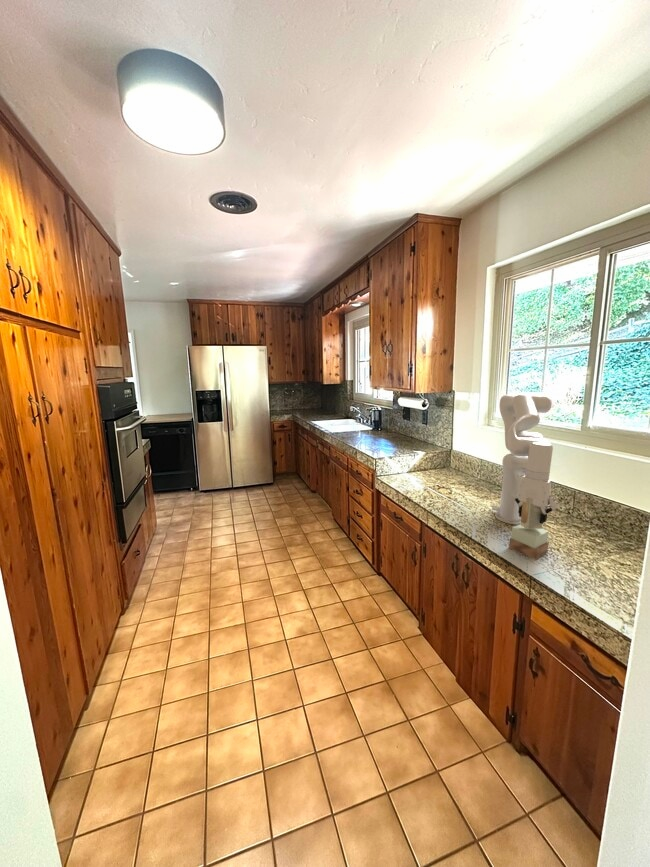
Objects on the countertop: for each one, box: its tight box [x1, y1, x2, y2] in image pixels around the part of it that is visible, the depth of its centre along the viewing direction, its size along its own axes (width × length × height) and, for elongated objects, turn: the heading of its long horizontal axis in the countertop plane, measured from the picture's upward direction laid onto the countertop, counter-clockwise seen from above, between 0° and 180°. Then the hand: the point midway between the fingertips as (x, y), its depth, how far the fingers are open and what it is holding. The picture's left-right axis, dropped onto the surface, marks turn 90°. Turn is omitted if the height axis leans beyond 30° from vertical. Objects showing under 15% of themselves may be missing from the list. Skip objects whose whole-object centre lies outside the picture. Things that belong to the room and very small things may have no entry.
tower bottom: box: [508, 537, 550, 561], centre depth 134 cm, size 10×10×4 cm
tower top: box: [510, 524, 549, 548], centre depth 133 cm, size 9×9×4 cm
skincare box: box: [520, 498, 543, 529], centre depth 131 cm, size 6×4×12 cm
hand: (531, 518), depth 132 cm, fingers closed on skincare box, 6 cm apart
